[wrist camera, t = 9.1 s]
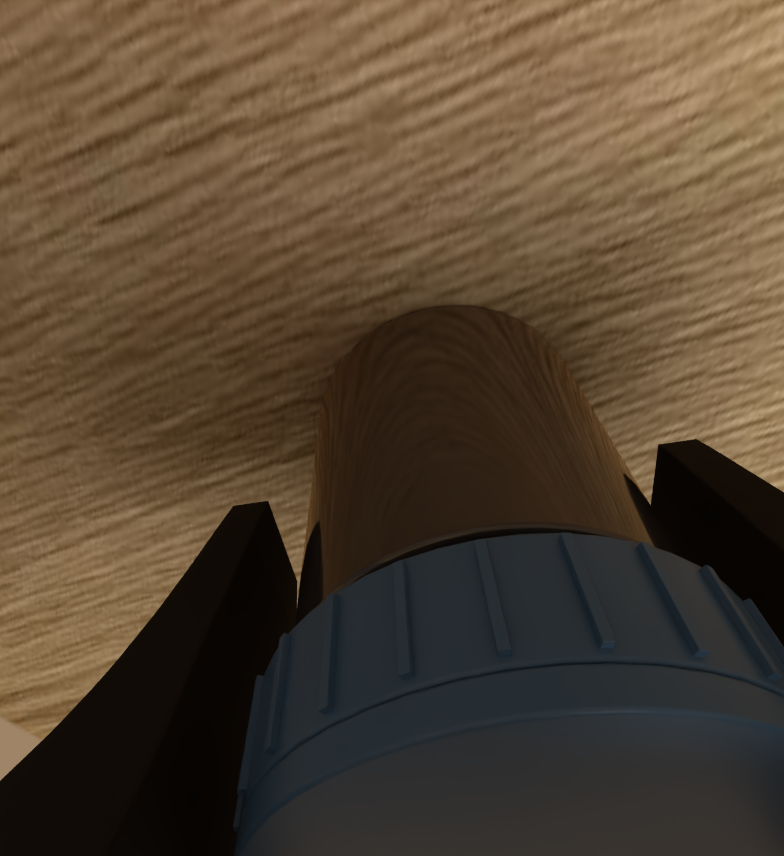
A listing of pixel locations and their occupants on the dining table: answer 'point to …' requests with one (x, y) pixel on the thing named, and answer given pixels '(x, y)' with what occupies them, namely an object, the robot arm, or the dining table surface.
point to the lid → (521, 711)
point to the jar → (457, 450)
